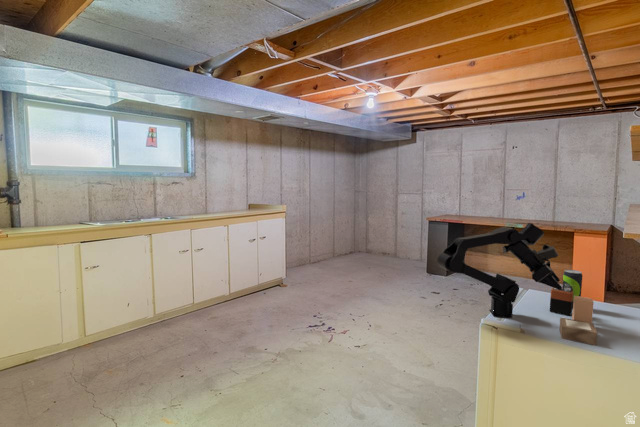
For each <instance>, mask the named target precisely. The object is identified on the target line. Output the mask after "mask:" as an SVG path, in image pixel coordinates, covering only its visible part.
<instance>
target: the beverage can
mask: <svg viewBox="0 0 640 427" xmlns="http://www.w3.org/2000/svg"><path fill="white" fill-rule="evenodd" d="M582 273H583V272H582V271H579V270H575V269H564V272H563V277H562V278H563V279H562V289H564V288H569V289H571V291H573V292H574V293H573V302H574V296H580V297H582V286H583V274H582ZM572 310H573V306H572Z"/></svg>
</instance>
